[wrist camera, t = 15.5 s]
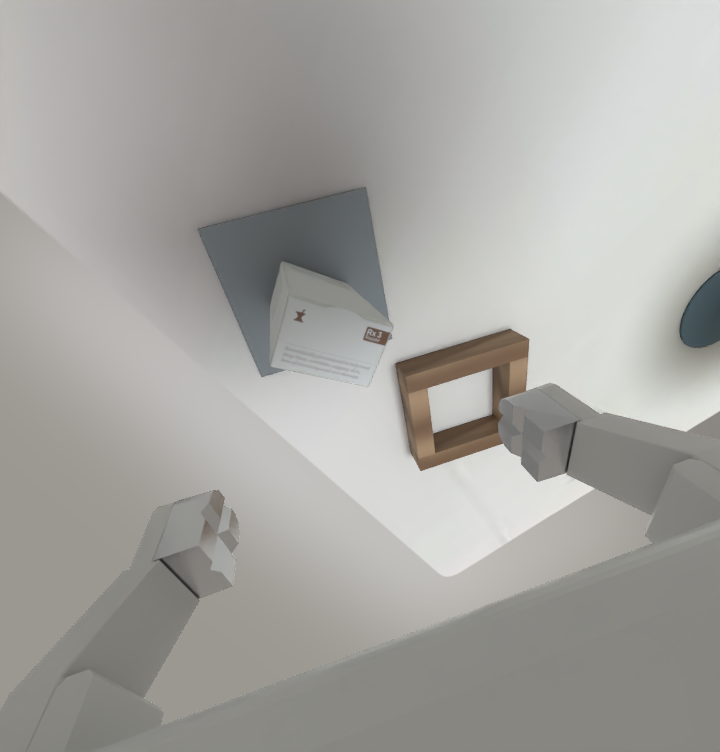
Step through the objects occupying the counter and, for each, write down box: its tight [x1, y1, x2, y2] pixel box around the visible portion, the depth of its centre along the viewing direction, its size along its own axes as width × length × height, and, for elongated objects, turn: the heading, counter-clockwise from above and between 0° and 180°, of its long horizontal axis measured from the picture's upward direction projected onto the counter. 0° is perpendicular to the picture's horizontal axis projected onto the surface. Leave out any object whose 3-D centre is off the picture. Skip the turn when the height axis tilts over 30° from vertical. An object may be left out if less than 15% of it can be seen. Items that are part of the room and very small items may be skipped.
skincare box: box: [269, 261, 393, 387], centre depth 22 cm, size 6×4×12 cm
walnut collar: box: [396, 329, 529, 471], centre depth 35 cm, size 13×13×3 cm
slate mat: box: [198, 187, 392, 377], centre depth 27 cm, size 13×13×1 cm
